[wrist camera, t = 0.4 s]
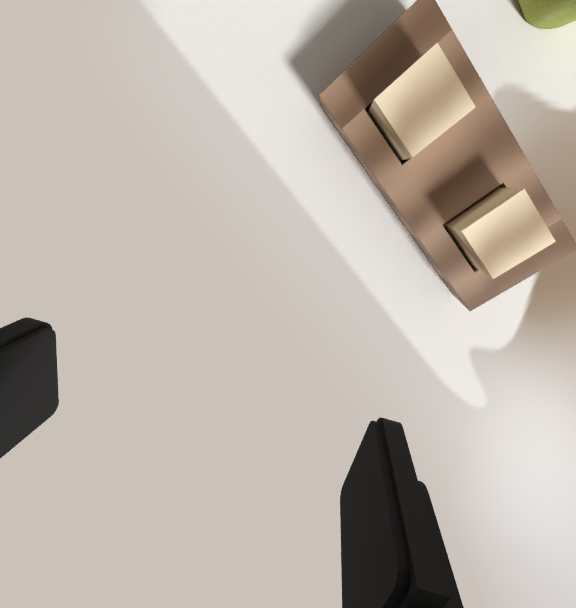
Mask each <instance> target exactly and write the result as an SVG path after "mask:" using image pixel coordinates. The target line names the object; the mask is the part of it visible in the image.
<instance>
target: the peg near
mask: <svg viewBox="0 0 576 608" xmlns="http://www.w3.org/2000/svg"><path fill="white" fill-rule="evenodd" d="M474 108H476V107H475V105H474V103H473V101H472V100H471V98H470V96H469V95H468V93H467V91H466V90H465V88H464V86H463V85H462V83H461V81H460V80H459V78H458V76H457V75H456V73H455V71H454V69H453V68H452V66H451V64H450V63H449V61H448V59H447V58H446V56H445V54H444V53H443V51H442V49H441V48H440V46H439V44H438V43H436V44H435V45H434V46H433V47H432V48H431V49H430V50H428V51H427V52H426V53H425V54H424V55H423V56H422V57H421V58H420V59H418V60H417V61H416V62H415V63H414V64H413V65H412V66H411V67H410V68H408V69H407V70H406V71H405V72H404V73H403V74H402V75H401V76H400V77H398V78H397V79H396V80H395V81H394V82H393V83H392V84H391V85H390V86H388V87H387V88H386V89H385V90H384V91H383V92H382V93H381V94H380V95H378V96H377V97H376V98H375V99H374V101H373V103H372V105H371V107H370V109H369V111H368V113H369V115H370V116H371V118H372V119H373V121H374V122H375V124H376V125H377V127H378V128H379V130H380V131H381V133H382V134H383V136H384V137H385V139H386V140H387V141H388V143H389V144H390V146H391V147H392V149H393V150H394V152H395V153H396V155H397V156H398V158H399V159H400V161H402V160H405V159H409V158H412V157H414V156H415V155H416V154H418V153H419V152H420V151H421V150H423V149H424V148H425V147H426V146H428V145H429V144H430V143H431V142H433V141H434V140H435V139H436V138H438V137H439V136H440V135H442V134H443V133H444V132H445V131H447V130H448V129H449V128H450V127H452V126H453V125H454V124H455V123H457V122H458V121H459V120H460V119H462V118H463V117H464V116H465V115H467V114H468V113H469V112H470V111H472V110H473V109H474Z"/></svg>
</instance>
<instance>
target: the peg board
mask: <svg viewBox="0 0 576 608" xmlns="http://www.w3.org/2000/svg"><path fill="white" fill-rule="evenodd" d="M436 43H438V44H439V46H440V48H441V49H442V51H443V53H444V54H445V56H446V58H447V59H448V61H449V63H450V64H451V66H452V68H453V69H454V71H455V73H456V75H457V76H458V78H459V80H460V81H461V83H462V85H463V86H464V88H465V90H466V91H467V93H468V95H469V96H470V98H471V100H472V101H473V103H474V105H475V107H476V108H474V109H473V110H472V111H470V112H469V113H468V114H467V115H465V116H464V117H463V118H462V119H460V120H459V121H458V122H457V123H455V124H454V125H453V126H452V127H450V128H449V129H448V130H447V131H445V132H444V133H443V134H442V135H440V136H439V137H438V138H436V139H435V140H434V141H433V142H431V143H430V144H429V145H428V146H426V147H425V148H424V149H423V150H421V151H420V152H419V153H418V154H416V155H415V156H414V157H412V158H409V159H405V160H402V161H399V160H398V158H397V157H396V155H395V154H394V152H393V151H392V149H391V148H390V146H389V145H388V143H387V142H386V140H385V139H384V137H383V136H382V134H381V133H380V131H379V130H378V128H377V127H376V125H375V124H374V123H373V121H372V120H371V118H370V117H369V115H368V114H367V112H368V111H369V109H370V107H371V105H372V103H373V101H374V99H375V98H376V97H377V96H378V95H380V94H381V93H382V92H383V91H384V90H385V89H386V88H387V87H388V86H390V85H391V84H392V83H393V82H394V81H395V80H396V79H397V78H398V77H400V76H401V75H402V74H403V73H404V72H405V71H406V70H407V69H408V68H410V67H411V66H412V65H413V64H414V63H415V62H416V61H417V60H418V59H420V58H421V57H422V56H423V55H424V54H425V53H426V52H427V51H428V50H430V49H431V48H432V47H433V46H434V45H435V44H436ZM319 97H320V103H321V108H322V109H323V111H324V112H325V113H326V115H327V116H328V118H329V119H330V121H331V122H332V123H333V125H334V126H335V128H336V129H337V131H338V132H339V133H340V135H341V136H342V138H343V139H344V140H345V142H346V143H347V145H348V146H349V148H350V149H351V150H352V152H353V153H354V155H355V156H356V158H357V159H358V160H359V162H360V163H361V165H362V166H363V167H364V169H365V170H366V172H367V173H368V175H369V176H370V177H371V179H372V180H373V182H374V183H375V185H376V186H377V187H378V189H379V190H380V192H381V193H382V194H383V196H384V197H385V199H386V200H387V202H388V203H389V204H390V206H391V207H392V209H393V210H394V212H395V213H396V214H397V216H398V217H399V219H400V220H401V221H402V223H403V224H404V226H405V227H406V229H407V230H408V231H409V233H410V234H411V236H412V237H413V239H414V240H415V241H416V243H417V244H418V246H419V247H420V249H421V250H422V251H423V253H424V254H425V256H426V257H427V258H428V260H429V261H430V263H431V264H432V266H433V267H434V268H435V270H436V271H437V273H438V274H439V276H440V277H441V278H442V280H443V281H444V283H445V284H446V285H447V287H448V288H449V290H450V291H451V293H452V294H453V295H454V296H455V297H456V298H457V299H458V300H459V301H460V302H461V303H462V304H463V305H464V306H465V307H466V308H467V309H468V310H469V311H472V310H473V309H475V308H477V307H478V306H480V305H482V304H484V303H485V302H487V301H489V300H490V299H492V298H494V297H496V296H497V295H499V294H501V293H502V292H504V291H506V290H508V289H509V288H511V287H513V286H515V285H516V284H518V283H520V282H521V281H523V280H525V279H527V278H528V277H530V276H532V275H533V274H535V273H537V272H539V271H540V270H542V269H544V268H545V267H547V266H549V265H550V264H552V263H554V262H556V261H557V260H559V259H561V258H563V257H564V256H566V255H568V254H569V253H571V252H573V251H575V250H576V243H575V241H574V239H573V238H572V236H571V234H570V233H569V231H568V229H567V227H566V225H565V224H564V222H563V220H562V219H561V217H560V215H559V213H558V212H557V210H556V208H555V207H554V205H553V203H552V201H551V200H550V198H549V196H548V194H547V193H546V191H545V189H544V188H543V186H542V184H541V182H540V181H539V179H538V177H537V175H536V174H535V172H534V170H533V168H532V167H531V165H530V163H529V162H528V160H527V158H526V156H525V155H524V153H523V151H522V149H521V148H520V146H519V145H518V143H517V141H516V139H515V138H514V136H513V134H512V132H511V131H510V129H509V127H508V125H507V124H506V122H505V120H504V118H503V117H502V115H501V113H500V112H499V110H498V108H497V106H496V105H495V103H494V101H493V99H492V98H491V96H490V94H489V92H488V91H487V89H486V87H485V86H484V84H483V82H482V80H481V79H480V77H479V75H478V73H477V72H476V70H475V68H474V67H473V65H472V63H471V61H470V60H469V58H468V56H467V54H466V53H465V51H464V49H463V48H462V46H461V44H460V42H459V41H458V39H457V37H456V35H455V34H454V32H453V30H452V28H451V27H450V25H449V23H448V22H447V20H446V18H445V16H444V15H443V13H442V11H441V9H440V8H439V6H438V4H437V3H436V1H435V0H417V1H416V2H415V3H414V4H413V5H412V6H411V7H410V8H409V9H408V10H407V11H406V12H405V13H403V14H402V15H401V16H400V17H399V18H398V19H397V20H396V21H395V22H394V23H393V24H392V25H391V26H390V27H389V28H388V29H387V30H386V31H385V32H384V33H383V34H382V35H381V36H380V37H379V38H378V39H377V40H376V41H375V42H374V43H372V44H371V45H370V46H369V47H368V48H367V49H366V50H365V51H364V52H363V53H362V54H361V55H360V56H359V57H358V58H357V59H356V60H355V61H354V62H353V63H352V64H351V65H350V66H349V67H348V68H347V69H346V70H345V71H344V72H343V73H342V74H340V75H339V76H338V77H337V78H336V79H335V80H334V81H333V82H332V83H331V84H330V85H329V86H328V87H327V88H326V89H325V90H324V91H323V92H322V93H321V94H320V95H319ZM496 187H498V188H519V189H525V190H526V192H527V194H528V195H529V197H530V199H531V201H532V202H533V204H534V206H535V207H536V209H537V211H538V212H539V214H540V216H541V217H542V219H543V221H544V222H545V224H546V226H547V227H548V229H549V231H550V233H551V234H552V236H553V238H554V239H555V241H556V242H554V243H553V244H551V245H549V246H548V247H546V248H544V249H543V250H541V251H539V252H538V253H536V254H534V255H533V256H531V257H529V258H528V259H526V260H524V261H523V262H521V263H519V264H518V265H516V266H514V267H513V268H511V269H509V270H508V271H506V272H504V273H503V274H501V275H499V276H498V277H496V278H494V279H492V278H491V277H489V276H488V275H486V274H484V273H483V272H481V271H480V270H478V269H476V268H475V267H473V266H472V265H470V263H469V262H468V260H467V259H466V257H465V256H464V255H462V253H461V252H460V250H459V249H458V247H457V246H456V244H455V243H454V241H453V240H452V238H451V237H450V235H449V234H448V232H447V231H446V229H445V228H444V226H443V224H444V223H446V222H447V221H449V220H450V219H452V218H453V217H454V216H456V215H457V214H459V213H460V212H462V211H463V210H465V209H466V208H467V207H469V206H470V205H472V204H473V203H475V202H476V201H477V200H479V199H480V198H482V197H483V196H485V195H486V194H488V193H489V192H490V191H492V190H493V189H495V188H496Z"/></svg>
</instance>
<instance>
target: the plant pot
mask: <svg viewBox="0 0 576 608" xmlns="http://www.w3.org/2000/svg"><path fill="white" fill-rule="evenodd" d="M518 2H519V4H520V7H521V9H522V12H523V15H524V18H525V20H526V21H527V22H528V23H530V24H531V25H533V26H535V27H537V28H542V29H552V28H557V27H560V26H563V25H566V24H568V23H570V22H573V21H575V20H576V0H518Z"/></svg>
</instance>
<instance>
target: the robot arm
mask: <svg viewBox="0 0 576 608" xmlns="http://www.w3.org/2000/svg"><path fill="white" fill-rule="evenodd" d="M57 379H58V377H57V356H56V335H55V332H54V330H52V327H51V325H50V324H48V323H46V322H42V321H39V320H35V319H32V318H23V319H21V320H18V321H16V322H14V323H11V324H9V325H7V326H4V327H2V328H0V458H1V457H2V456H4V455H5V454H6V453H7V452H9V451H10V450H11V449H12V448H13V447H15V445H17V444H18V443H19V442H21V441H22V440H23V439H24V438H25V437H27V436H28V435H29V434H30V433H31V432H32V431H34V430H35V429H36V428H37V427H39V426H40V425H41V424H42V423H43V422H45V421H46V420H47V419H48V418H49V417H51V416H52V415H53V414H54V412H55V411H56V409H57V407H58V403H59V400H58V380H57ZM340 510H341V511H340V516H341V562H342V608H463V605H462V601H461V599H460V595H459V591H458V588H457V585H456V582H455V578H454V575H453V572H452V569H451V565H450V562H449V559H448V555H447V553H446V549H445V546H444V542H443V539H442V536H441V532H440V529H439V526H438V523H437V519H436V516H435V513H434V509H433V506H432V503H431V500H430V496H429V493H428V490H427V488H426V486H425V484H424V483H423V482H420V481H418V480H417V476H416V473H415V469H414V465H413V462H412V459H411V455H410V451H409V448H408V444H407V441H406V437H405V434H404V430H403V427H402V424H401V423H399V422H395V421H392V420H388V419H384V418H379V419H378V420H377V422H375V421H371V422H370V424H369V426H368V428H367V430H366V433H365V435H364V437H363V440H362V442H361V445H360V447H359V449H358V451H357V454H356V456H355V458H354V461H353V463H352V465H351V468H350V470H349V472H348V475H347V477H346V479H345V482H344V484H343V487H342V490H341V496H340Z"/></svg>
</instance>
